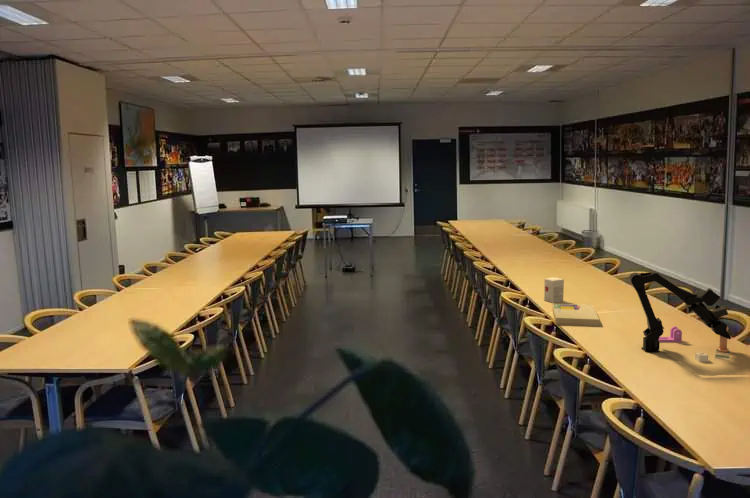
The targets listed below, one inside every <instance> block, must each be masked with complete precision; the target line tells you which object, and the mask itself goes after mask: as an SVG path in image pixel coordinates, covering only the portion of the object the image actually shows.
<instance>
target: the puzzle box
mask: <svg viewBox="0 0 750 498" xmlns="http://www.w3.org/2000/svg"><path fill="white" fill-rule="evenodd" d="M552 315H553V318H554V323H555V325H557V326H559V325H560V326H583V327H584V326H585V327H599V326H600V318H599V315H598V314H597V312H596V309H595V307H594V306H593V304H582V303H579V304H577V303H573V304H572V303H552Z"/></svg>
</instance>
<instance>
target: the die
mask: <svg viewBox="0 0 750 498" xmlns="http://www.w3.org/2000/svg"><path fill="white" fill-rule="evenodd" d="M694 360H696V361H697V362H700V363H703V362H705V363H706V362H707V363H708V362H709V355H708V354H707V353H705V352H695V354H694Z"/></svg>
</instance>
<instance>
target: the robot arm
mask: <svg viewBox="0 0 750 498" xmlns="http://www.w3.org/2000/svg"><path fill="white" fill-rule="evenodd" d="M628 281H629V283H630V284H631V286H632V287H633V289H634V290H635V292H636V294H637V296H638V298H639V301H640V304H641V306H642V310H643V312H644V314H645V316H646V323H647V328H646V329H644V330H643V331H642V333H643V336H644V337H643V339H642V341H643V342H642V347H641V349H642V350H643V351H644V352H646V353H660V352H661V350H660V344H661V342H659V337H662V336H663V334H664V329H665V327H664V326H663V322H662V320H661V319H660V318H659V317H656V315H655V312H654V310H653V306H652V304H651V302H650V300H649V297H648V294H647V292H646V284H650V283H652V282H656V283H657V284H659V285H660V286H661V287H664V288H665V289H667V290H668V291H670V292H671V293H673V294H675V296H676V297H677V298H678V299H679V300H681V302H683V303H684V304H685V305H686V311H687V313H691V312H693V313H694V314H695V315H697V317H698V318H699V319H701V320H702V323H703V324H704V325H706V327H708V328H709V329H711V330H712V332H714V334H715V335H717V336H719V337H720V336H723V337H725V338H727V340H731V339H732V336H731V334H730V333H729V331H728V332H727V330H726V328H727V326H728V324H727V323H726V322H724V321H723V320H721V319H720V318H722V317H725V316H728V315H729V312H728V311H727V308H726V307H725V306H723V305H721V306H720V305H719V304H716V303H717V302H718V301H720V300H721V299H722V297H720V296H719V294H717V293H716V292H715V291H713V290H712V289H711V288H710V287H709V288H707V289H706V291H704V292H703V293H702V294H701V295H700V294H697V293H693V292H691V291H689V290H686V289H685V288H682V287H679V286H678V285H677V284H674V283H673V282H672V281H670V280H668V279H666V278H665V277H663V276H662V275H661V274H660V273H658V272H657V271H652V272H650V271H649V272H641V273H639V272H632V273H630V275H629V276H628ZM713 305H714V306H713ZM712 306H713V307H714V308H713V309H712V310H711V309H710V308H708V307H712Z"/></svg>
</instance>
